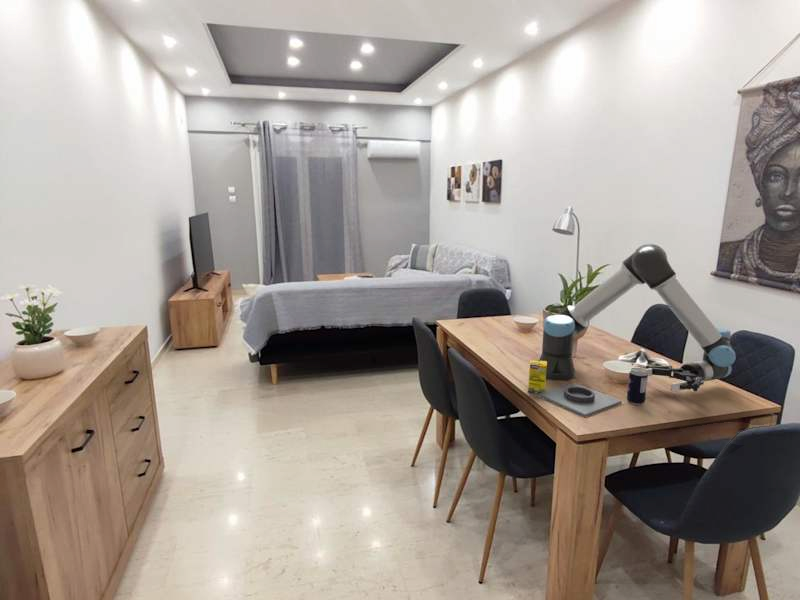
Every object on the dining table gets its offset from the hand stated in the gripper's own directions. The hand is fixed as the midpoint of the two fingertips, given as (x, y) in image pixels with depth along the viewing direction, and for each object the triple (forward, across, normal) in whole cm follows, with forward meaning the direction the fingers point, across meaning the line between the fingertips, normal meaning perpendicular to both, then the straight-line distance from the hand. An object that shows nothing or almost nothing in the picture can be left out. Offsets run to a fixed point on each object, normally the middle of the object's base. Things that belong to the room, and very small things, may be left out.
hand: (654, 380), depth 166 cm
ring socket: (+24, +10, -7) cm, 27 cm away
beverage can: (+8, 0, -7) cm, 11 cm away
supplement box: (+33, +23, -7) cm, 40 cm away
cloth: (-32, +33, -8) cm, 47 cm away
